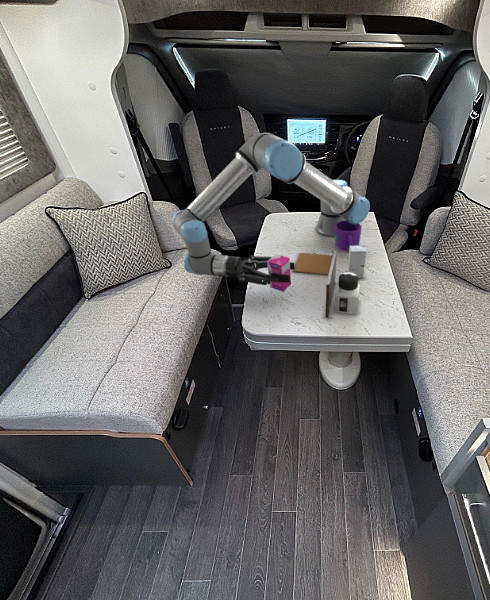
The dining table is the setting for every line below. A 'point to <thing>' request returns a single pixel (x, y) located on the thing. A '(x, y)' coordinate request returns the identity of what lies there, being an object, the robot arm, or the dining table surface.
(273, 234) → the dining table surface
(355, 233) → the mug
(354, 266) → the cosmetic box
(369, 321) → the dining table surface
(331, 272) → the backboard
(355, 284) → the container
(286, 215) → the dining table surface
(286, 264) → the supplement box
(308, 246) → the dining table surface
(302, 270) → the cork mat
